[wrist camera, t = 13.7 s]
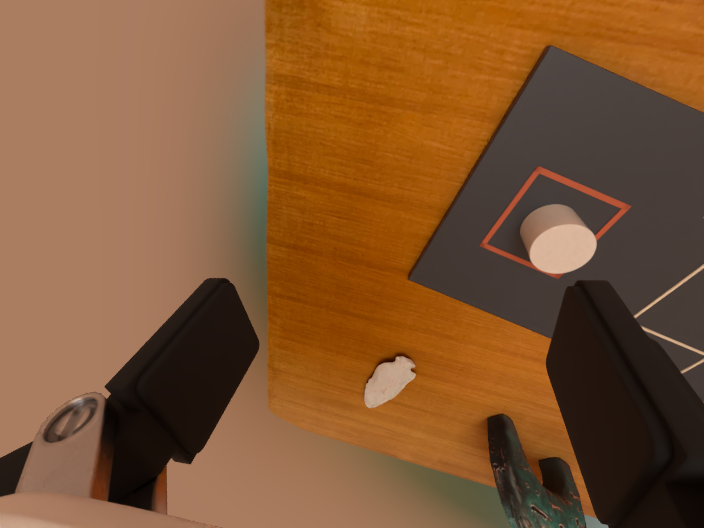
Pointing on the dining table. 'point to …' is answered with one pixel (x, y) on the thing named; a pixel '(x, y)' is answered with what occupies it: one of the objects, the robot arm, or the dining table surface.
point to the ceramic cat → (531, 483)
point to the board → (585, 206)
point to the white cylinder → (557, 239)
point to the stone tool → (388, 381)
